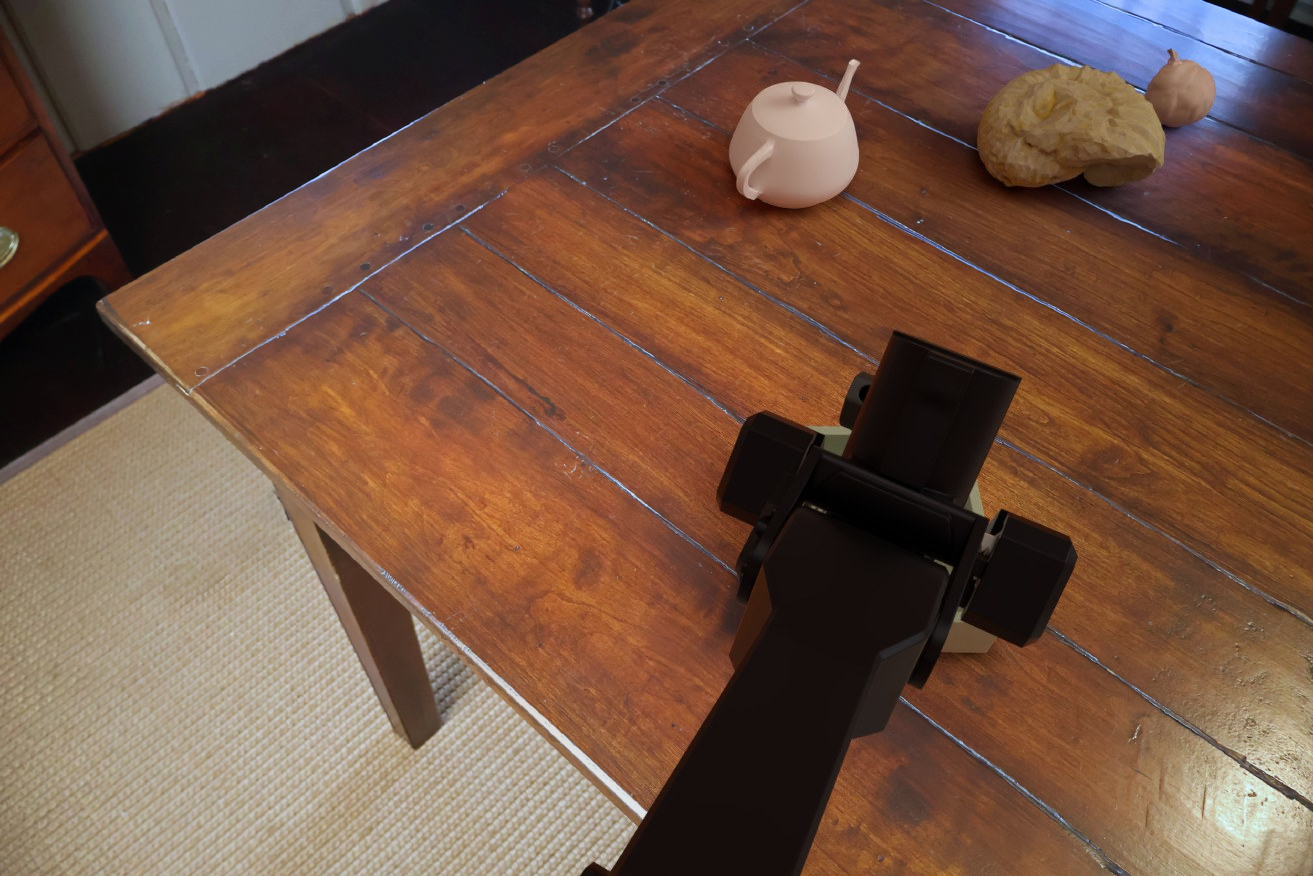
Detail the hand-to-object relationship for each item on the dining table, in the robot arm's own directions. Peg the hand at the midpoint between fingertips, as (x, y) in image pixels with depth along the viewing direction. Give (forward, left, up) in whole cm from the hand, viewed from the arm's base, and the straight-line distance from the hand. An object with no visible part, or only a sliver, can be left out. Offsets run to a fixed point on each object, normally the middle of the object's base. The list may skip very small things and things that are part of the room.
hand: (900, 499), depth 61 cm
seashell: (+45, -24, -11) cm, 52 cm away
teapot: (+44, +2, -11) cm, 45 cm away
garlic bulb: (+54, -38, -11) cm, 67 cm away
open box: (+2, -1, -10) cm, 11 cm away
